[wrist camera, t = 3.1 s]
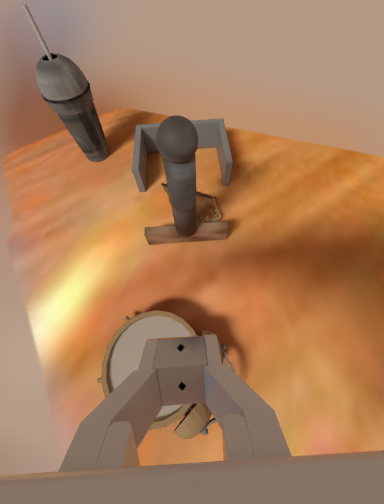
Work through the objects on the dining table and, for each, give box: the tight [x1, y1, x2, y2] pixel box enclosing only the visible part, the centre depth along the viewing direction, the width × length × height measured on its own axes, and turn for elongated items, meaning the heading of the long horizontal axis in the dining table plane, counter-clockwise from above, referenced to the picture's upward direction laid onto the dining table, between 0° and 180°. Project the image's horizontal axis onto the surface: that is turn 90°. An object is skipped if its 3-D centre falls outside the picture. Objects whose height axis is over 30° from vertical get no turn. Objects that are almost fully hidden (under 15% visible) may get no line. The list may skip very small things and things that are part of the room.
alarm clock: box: [97, 310, 236, 439], centre depth 24 cm, size 11×5×15 cm
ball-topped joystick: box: [144, 116, 229, 245], centre depth 24 cm, size 12×4×18 cm, turn 94°
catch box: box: [132, 119, 233, 192], centre depth 38 cm, size 16×12×5 cm
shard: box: [161, 183, 221, 224], centre depth 36 cm, size 11×8×2 cm
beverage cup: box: [22, 4, 110, 162], centre depth 34 cm, size 7×7×20 cm
